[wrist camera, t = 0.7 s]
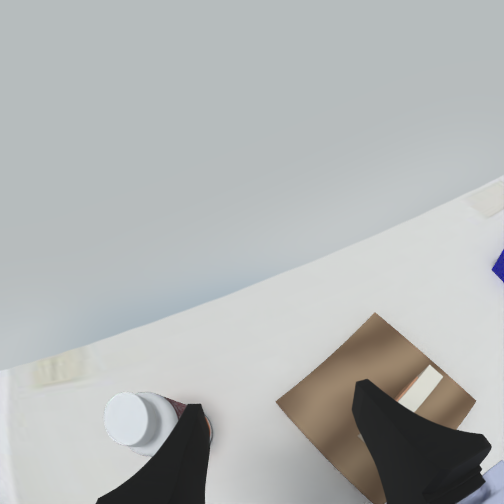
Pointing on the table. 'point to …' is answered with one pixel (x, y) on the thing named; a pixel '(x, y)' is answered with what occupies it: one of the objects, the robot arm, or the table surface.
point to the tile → (418, 390)
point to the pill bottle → (142, 420)
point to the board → (342, 393)
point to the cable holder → (499, 267)
